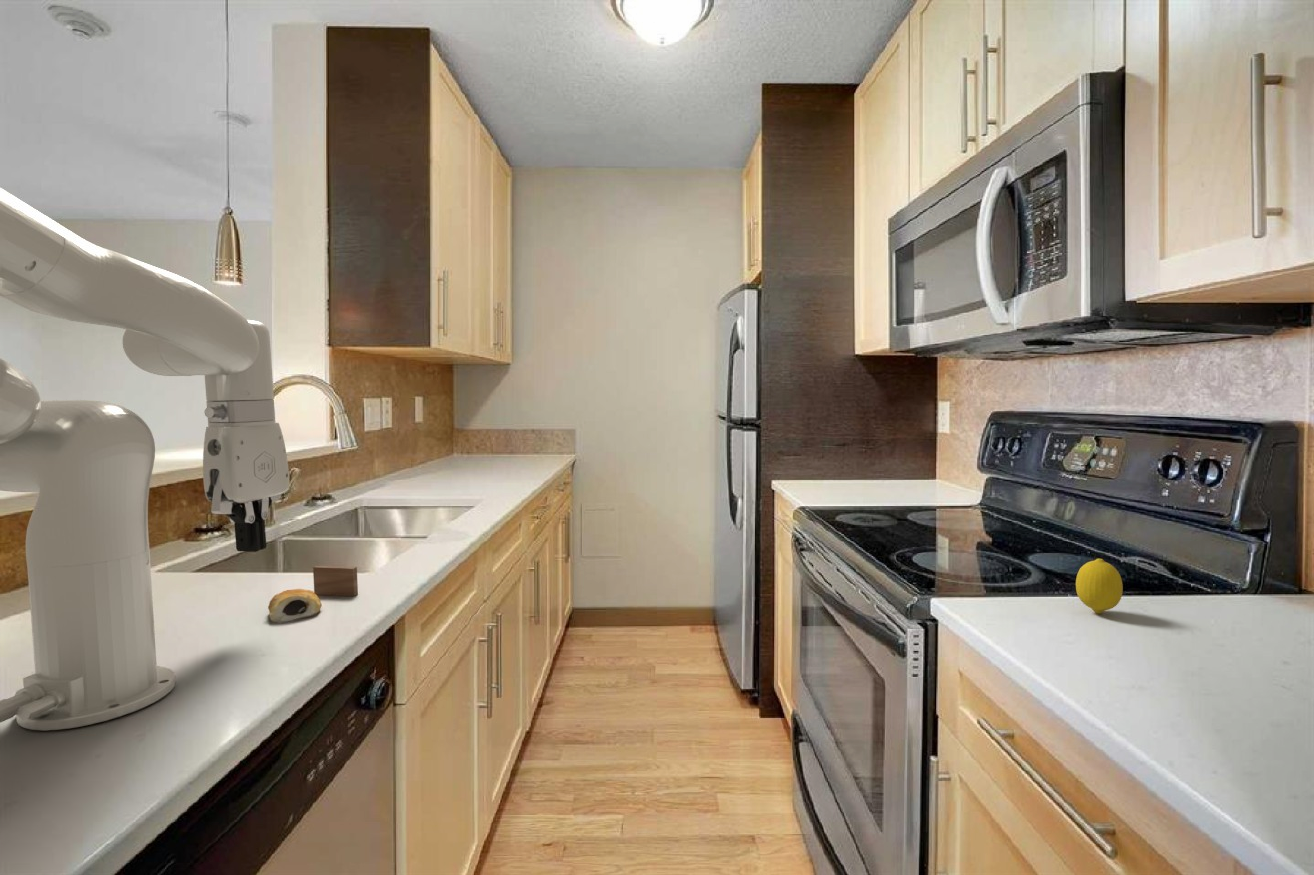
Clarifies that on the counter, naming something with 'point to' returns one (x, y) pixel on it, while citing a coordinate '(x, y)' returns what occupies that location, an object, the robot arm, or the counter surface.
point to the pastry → (293, 605)
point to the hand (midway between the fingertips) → (251, 549)
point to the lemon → (1099, 585)
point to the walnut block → (335, 580)
